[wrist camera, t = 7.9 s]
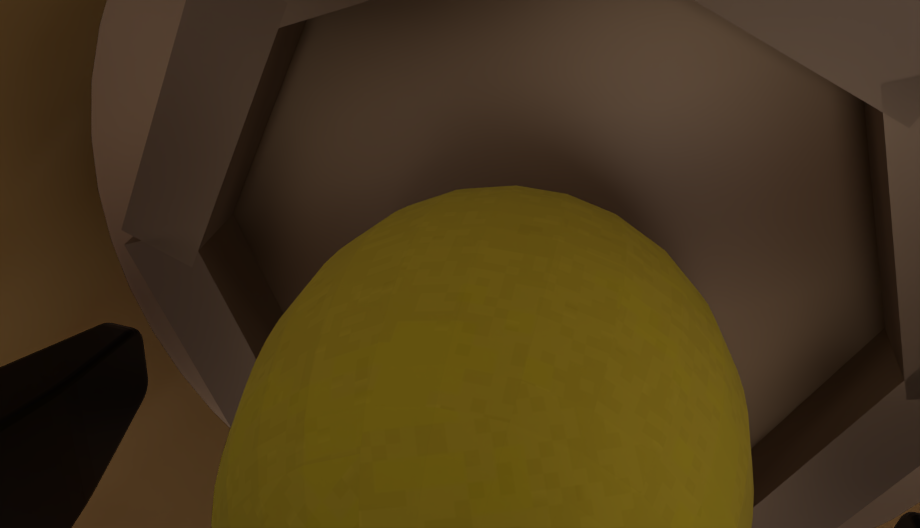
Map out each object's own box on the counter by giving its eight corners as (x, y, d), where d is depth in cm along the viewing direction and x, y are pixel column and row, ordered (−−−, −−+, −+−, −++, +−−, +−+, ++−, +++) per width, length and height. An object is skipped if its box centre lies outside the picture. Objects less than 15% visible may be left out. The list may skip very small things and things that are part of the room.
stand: (1029, 445, 16) (1130, 639, 12) (353, 495, 21) (291, 642, 18) (1039, -536, 9) (1265, -707, 6) (36, -113, 14) (-167, -69, 11)
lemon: (599, 467, 14) (541, 1079, 7) (317, 314, 14) (-17, 802, 7) (808, 225, 11) (1036, 856, 4) (460, 26, 11) (132, 377, 4)
